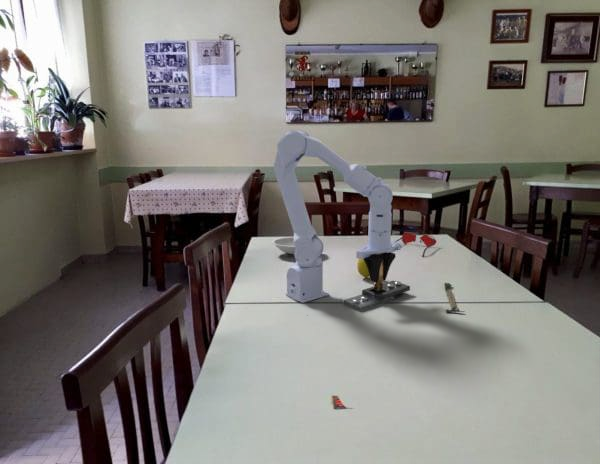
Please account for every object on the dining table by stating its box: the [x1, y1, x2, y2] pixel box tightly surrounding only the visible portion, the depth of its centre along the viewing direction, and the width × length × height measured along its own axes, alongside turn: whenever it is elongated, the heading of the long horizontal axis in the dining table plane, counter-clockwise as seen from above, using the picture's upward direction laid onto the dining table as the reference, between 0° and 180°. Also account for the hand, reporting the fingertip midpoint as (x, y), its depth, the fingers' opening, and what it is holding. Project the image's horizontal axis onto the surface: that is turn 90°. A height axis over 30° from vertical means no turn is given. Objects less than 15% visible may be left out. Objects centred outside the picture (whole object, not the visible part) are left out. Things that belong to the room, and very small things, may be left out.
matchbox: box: [330, 394, 359, 409], centre depth 76 cm, size 5×5×1 cm
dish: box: [271, 236, 295, 255], centre depth 162 cm, size 18×14×5 cm
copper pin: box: [373, 260, 384, 291], centre depth 119 cm, size 2×2×8 cm
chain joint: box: [343, 280, 411, 312], centre depth 120 cm, size 19×6×3 cm, turn 127°
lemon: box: [356, 258, 370, 279], centre depth 136 cm, size 6×6×8 cm
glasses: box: [394, 232, 437, 258], centre depth 168 cm, size 14×16×5 cm
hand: (378, 280), depth 119 cm, fingers closed on copper pin, 2 cm apart
